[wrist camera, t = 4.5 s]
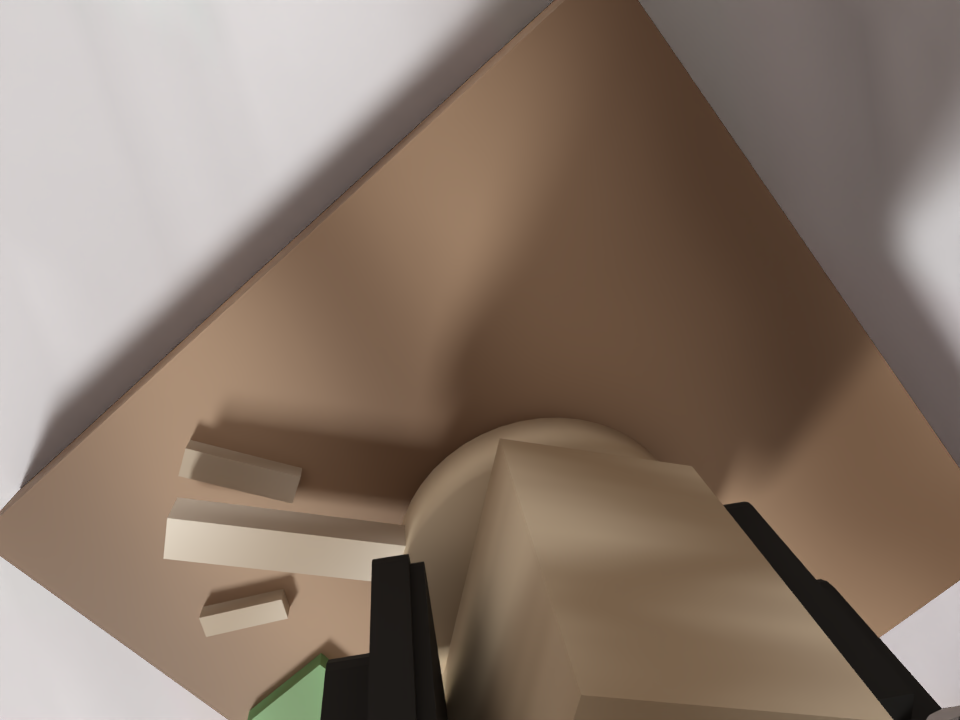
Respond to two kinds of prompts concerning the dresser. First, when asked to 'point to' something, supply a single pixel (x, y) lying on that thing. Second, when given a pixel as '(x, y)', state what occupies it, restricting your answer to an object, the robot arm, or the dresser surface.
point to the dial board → (498, 368)
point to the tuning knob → (570, 584)
